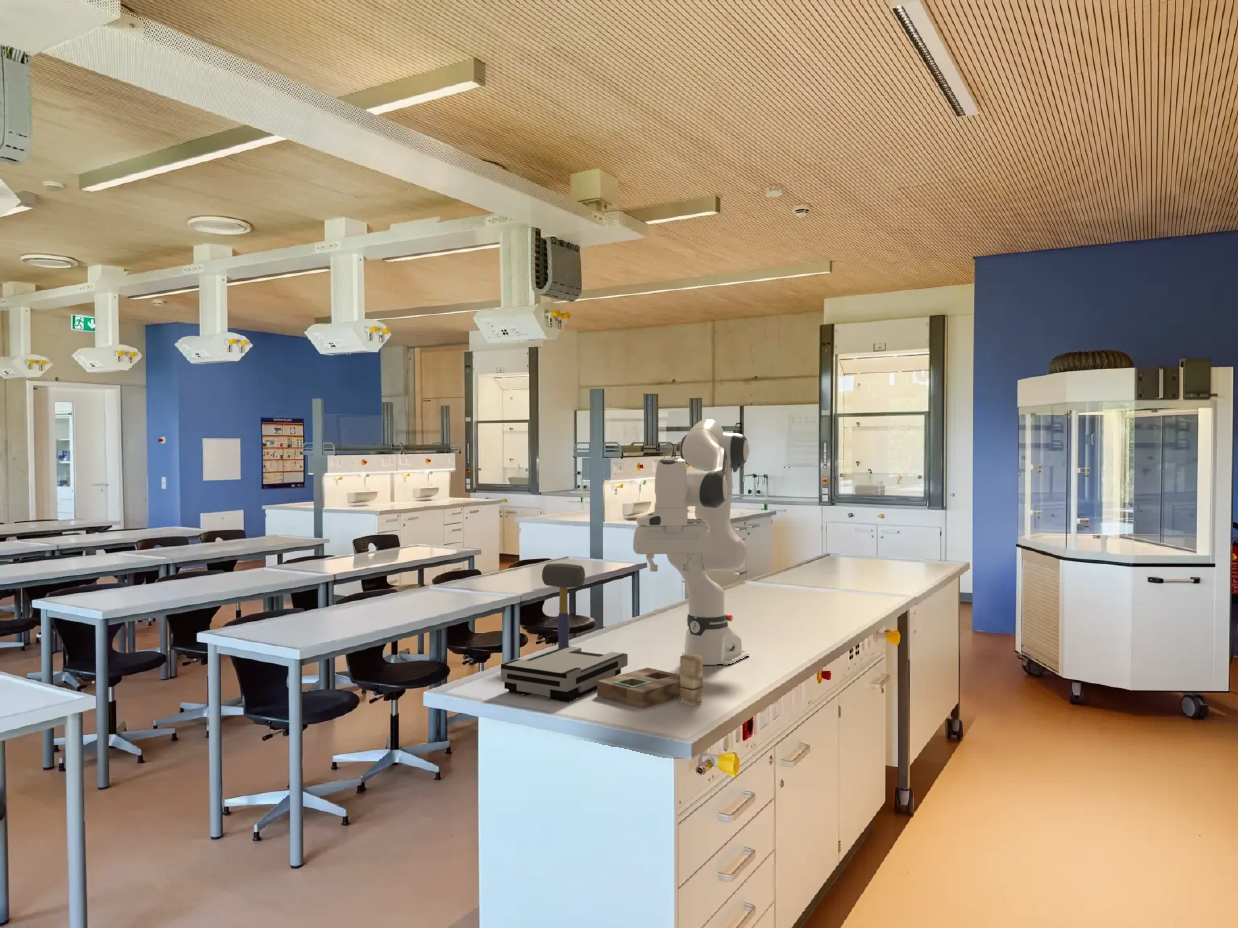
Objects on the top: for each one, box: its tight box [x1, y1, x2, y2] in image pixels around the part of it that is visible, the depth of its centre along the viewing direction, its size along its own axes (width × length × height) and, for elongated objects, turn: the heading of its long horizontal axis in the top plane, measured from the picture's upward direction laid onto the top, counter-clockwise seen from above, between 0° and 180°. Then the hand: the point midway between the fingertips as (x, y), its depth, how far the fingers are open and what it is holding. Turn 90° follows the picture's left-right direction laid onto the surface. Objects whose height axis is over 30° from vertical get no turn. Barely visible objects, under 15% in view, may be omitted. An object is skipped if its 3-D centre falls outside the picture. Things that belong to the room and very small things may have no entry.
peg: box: [679, 654, 704, 707], centre depth 212 cm, size 4×4×12 cm
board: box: [596, 667, 681, 709], centre depth 220 cm, size 20×16×4 cm
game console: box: [500, 645, 629, 703], centre depth 230 cm, size 21×32×8 cm, turn 151°
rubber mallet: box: [541, 562, 586, 649], centre depth 260 cm, size 12×8×30 cm, turn 68°
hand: (670, 571), depth 221 cm, fingers open, 8 cm apart
